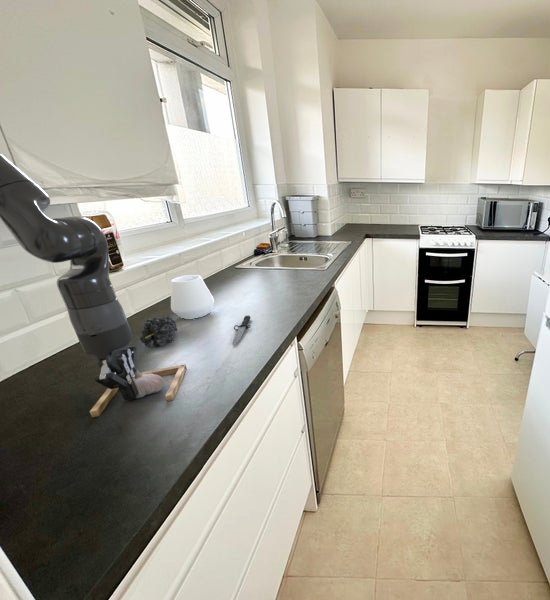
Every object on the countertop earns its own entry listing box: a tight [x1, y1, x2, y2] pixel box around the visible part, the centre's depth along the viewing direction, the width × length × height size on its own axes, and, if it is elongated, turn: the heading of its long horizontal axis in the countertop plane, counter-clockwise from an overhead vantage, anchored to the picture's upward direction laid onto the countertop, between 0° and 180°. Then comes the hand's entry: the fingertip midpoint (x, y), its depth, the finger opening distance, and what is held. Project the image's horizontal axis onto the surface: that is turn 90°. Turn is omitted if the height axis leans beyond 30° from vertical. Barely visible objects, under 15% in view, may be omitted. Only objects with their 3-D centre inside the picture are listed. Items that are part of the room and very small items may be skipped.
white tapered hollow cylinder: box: [170, 274, 215, 319], centre depth 111 cm, size 13×13×14 cm
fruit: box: [139, 315, 178, 348], centre depth 95 cm, size 9×8×15 cm
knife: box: [231, 315, 252, 346], centre depth 100 cm, size 19×2×5 cm
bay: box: [89, 364, 188, 418], centre depth 73 cm, size 13×14×2 cm
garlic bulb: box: [120, 368, 165, 399], centre depth 70 cm, size 8×7×8 cm
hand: (131, 397), depth 66 cm, fingers closed
